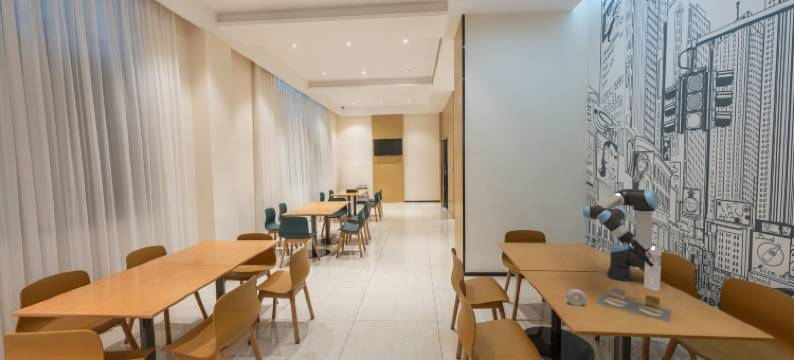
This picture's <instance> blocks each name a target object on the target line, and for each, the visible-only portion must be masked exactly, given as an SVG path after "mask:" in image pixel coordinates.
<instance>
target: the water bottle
mask: <svg viewBox="0 0 794 360" xmlns="http://www.w3.org/2000/svg"><path fill="white" fill-rule="evenodd" d="M645 253H646V254H645V255H646V256H647V257H648V258H649V259H650V260H651V261H653V262H654V263H655V264H656V265H657V266H658V267H659V268H660V269H661V270H659V271H657V272H655V271H654V270H653V269H652V268H651V267H650V266H649V265H648V264H647V263H646V262H645V269H643V270H644V273H643V288H644V289H646V290H649V291H654V292H658V291H660V289H661V274H662V267H661V266H662V265H661V264H662V256H663V255H662V251H661V249H659V248H658V247H657V243H655V242H652V246H650V247H648V248H647V249H646V250H645Z"/></svg>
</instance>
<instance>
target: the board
mask: <svg viewBox="0 0 794 360" xmlns="http://www.w3.org/2000/svg"><path fill="white" fill-rule="evenodd" d="M605 298H613V297H612V294H611V295H610V294H607V293H602V294H601V296H600V297H599V299H597V301H596V304H599V305H603V306H606V307H611V308H614V309H617V310H620V311H626V312H627V313H628V312H629V313H632V314H635V315H640V316H644V317H646V318H647V317H648V318H652V319H655V320H659V321H661V322H667V323H670V320H671V313H672V310H671V309H668V308H664V307H660V306H659V309H658V310H661V311H662V312H663V313H664V316H662V317H656V316H650V315H647V314H644V313H642V312H640V311H639V310H638V307H640V306H645V303H643V302H640V301H635V300H630V299H628V298H624V300H623V301H625V302H626V303H627V306H626V307H617V306H613V305H610V304H607V303H606V302H605V301H604V299H605ZM616 299H617V298H616ZM620 300H621V299H620ZM648 307H649V306H648ZM652 308H653V307H652ZM656 309H657V308H656Z"/></svg>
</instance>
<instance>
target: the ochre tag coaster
mask: <svg viewBox="0 0 794 360" xmlns="http://www.w3.org/2000/svg"><path fill="white" fill-rule="evenodd" d="M660 301H661V299H660V297H659V296H658V297H657V296H653V295H649V294H645V303H644V304H645V306H640V307H638V310H639V311H640V312H642V313H644V314H647V315H650V316H656V317H662V316H664V313H663V312H662V311H661V310H658V309H659V307H660ZM648 306H649V307H648ZM652 307H653V308H652ZM656 308H657V309H656Z"/></svg>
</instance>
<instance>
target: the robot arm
mask: <svg viewBox="0 0 794 360" xmlns="http://www.w3.org/2000/svg"><path fill="white" fill-rule="evenodd" d="M659 204H660V198H659V194H657V192H656V191H655V190H650V189H637V188H636V189H633V188H625V189H619V190H617V191H614V192H612V193H610V194H609V195H608V197H606V198H605V199H603V200H601V201H600V202H598V203H596V204H594V205H593V206H591V205H589V206H588V205H586V206H584V207H583V209H582V215H583V217H584V218H587V219H589V220H590V219H593V220H598V221H599V222H600V223H601V224H602V225H603V226H604V227H605V228H606V229H607V230H608V231H609V232H610V233H611V235H612V236H614V237H615V238H617V239H618V241H619V242H620V243H621V244H616V245H612V246H611V247H610V251H609V253H610V256H609V257H610V259H609V260H610V262H609V267H608V269H607V272H606V276H607V277H608V278H610V279H612V280H615V281H621V282H631V281H634V278H633V277H634V276H633V274H632V271H631V267H634V268H639V269H643V270H644V269H645V262H646V263H647V264H648V265H649V266H650V267H651V268H652V269H653V270H654V271H655V272H657V271H659V270H661V271H662V265H661V269H660V268H659V267H658V266H657V265H656V264H655V263H654V262H653V261H651V260H650V259H649V258H648V257H647V256H646V255H645V254H646V253H645V250H646V249H647V248H648V247H650V246H652V243H653V242H652V241H653V213H654V212H656V209H658V208H659V207H660V205H659ZM621 206H625V207H626V206H627V207H628V206H629V207H632V211H634V212H635V234H633V232H632V231H630V230H629V229H628V228H627V227H626V226H625V225H624V224H623V223H622V221H624V220H625V219H626V218H627V217H628V216H627V215H628V214H627V211H626V210H625V209H624V208H623V207H621ZM634 237H635V239H633V238H634ZM625 243H626V244H627V245H626V244H625ZM624 244H625V245H624Z"/></svg>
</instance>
